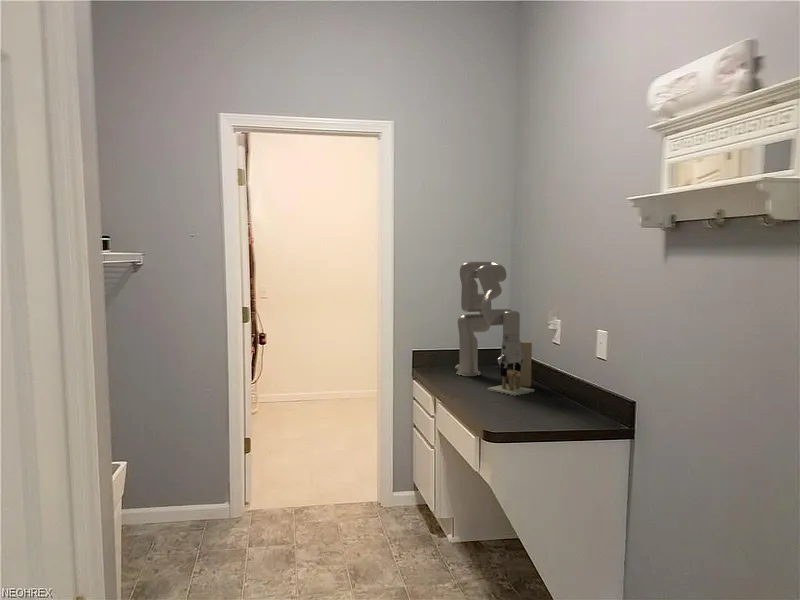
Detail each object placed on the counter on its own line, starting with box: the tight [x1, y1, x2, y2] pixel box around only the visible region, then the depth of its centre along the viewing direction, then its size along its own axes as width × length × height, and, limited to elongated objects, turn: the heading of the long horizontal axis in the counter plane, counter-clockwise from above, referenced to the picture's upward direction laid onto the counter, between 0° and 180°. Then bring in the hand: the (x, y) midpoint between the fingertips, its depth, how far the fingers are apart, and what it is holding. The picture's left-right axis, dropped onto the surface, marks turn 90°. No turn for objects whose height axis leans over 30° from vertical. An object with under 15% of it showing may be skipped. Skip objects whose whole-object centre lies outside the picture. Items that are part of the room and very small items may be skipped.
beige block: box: [512, 340, 533, 388], centre depth 279 cm, size 8×7×21 cm
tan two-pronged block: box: [501, 369, 521, 390], centre depth 267 cm, size 6×6×8 cm
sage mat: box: [487, 383, 535, 397], centre depth 267 cm, size 16×14×1 cm
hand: (510, 375), depth 267 cm, fingers open, 9 cm apart
